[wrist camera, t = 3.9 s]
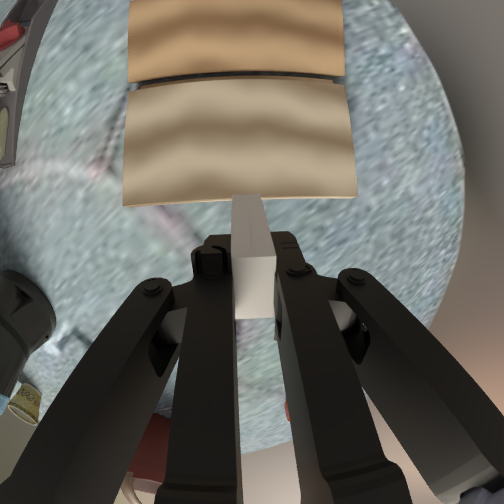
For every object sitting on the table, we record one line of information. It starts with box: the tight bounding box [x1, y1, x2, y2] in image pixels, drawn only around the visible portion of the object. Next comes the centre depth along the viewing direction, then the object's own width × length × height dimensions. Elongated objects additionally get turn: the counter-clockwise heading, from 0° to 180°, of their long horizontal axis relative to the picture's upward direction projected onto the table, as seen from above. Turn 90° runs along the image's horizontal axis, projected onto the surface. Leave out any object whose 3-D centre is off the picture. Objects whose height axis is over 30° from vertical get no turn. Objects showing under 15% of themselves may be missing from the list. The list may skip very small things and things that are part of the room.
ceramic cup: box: [7, 383, 42, 426], centre depth 49 cm, size 13×10×10 cm
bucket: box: [121, 413, 171, 504], centre depth 49 cm, size 24×22×25 cm
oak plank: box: [128, 0, 345, 83], centre depth 21 cm, size 10×22×2 cm, turn 91°
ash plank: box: [123, 76, 358, 207], centre depth 25 cm, size 13×22×2 cm, turn 91°
